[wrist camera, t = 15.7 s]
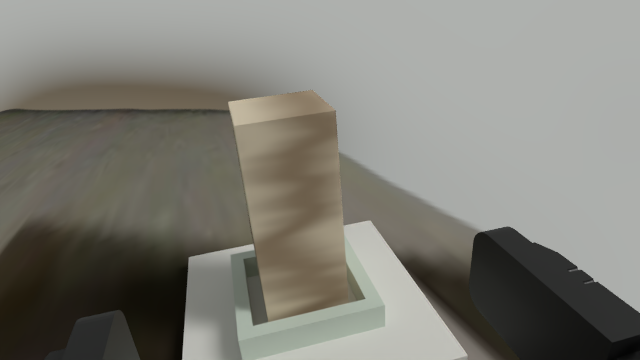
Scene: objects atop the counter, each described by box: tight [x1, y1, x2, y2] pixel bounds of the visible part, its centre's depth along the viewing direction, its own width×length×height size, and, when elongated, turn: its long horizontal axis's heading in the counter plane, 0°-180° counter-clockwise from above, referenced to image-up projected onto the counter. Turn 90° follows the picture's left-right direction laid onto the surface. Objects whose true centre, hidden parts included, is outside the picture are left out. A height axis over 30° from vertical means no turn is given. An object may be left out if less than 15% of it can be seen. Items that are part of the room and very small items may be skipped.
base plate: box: [182, 220, 468, 360], centre depth 26 cm, size 14×14×2 cm
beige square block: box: [228, 90, 349, 322], centre depth 23 cm, size 5×5×12 cm
